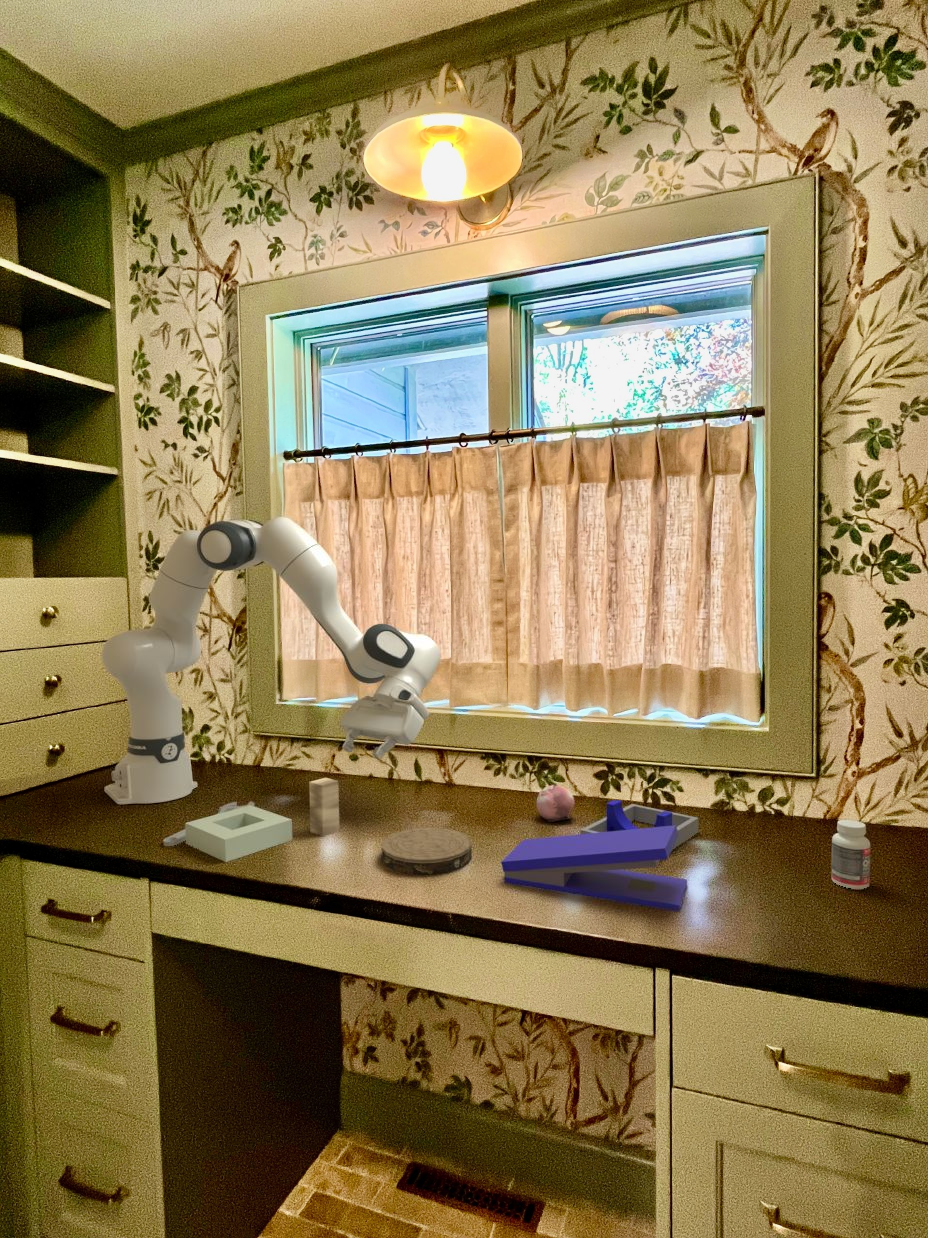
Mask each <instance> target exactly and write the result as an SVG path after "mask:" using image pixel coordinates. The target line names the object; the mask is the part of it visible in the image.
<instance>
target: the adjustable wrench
mask: <svg viewBox="0 0 928 1238" xmlns="http://www.w3.org/2000/svg"><path fill="white" fill-rule="evenodd" d="M249 805H251V806H254V807H256V806H255V802H253V801H249V802H248V803H247V804H245V805H238V801H233V802H230V803H229V802H228V803H226V804H223V805H222V806H219V809H218V810H217V811H218V812H217V813H216V814H220V813H224V812H227V811H231V810H235V809H238V808H242V807H246V806H249ZM216 814H214V815H216ZM162 840H163V842H162V843H163V847H164V846H173V847H175V846H174V845H176V846H178V845H180V844H182V843H183V841H184V842H186V841H185V840H186V833H185V828H184V829H182V830H180V831H178V832H176V833H173V834H172V835H170V836H167V837H166V838H164V839H162ZM181 842H182V843H181ZM179 843H180V844H179ZM177 844H178V845H177Z"/></svg>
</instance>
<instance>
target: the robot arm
mask: <svg viewBox="0 0 928 1238" xmlns="http://www.w3.org/2000/svg"><path fill="white" fill-rule="evenodd" d="M264 563H266V564H267V565H269V566H270V567H271V568H272V569H273V571H275V572H276V573H277V574H278V576H279V577H280V578H281V579H282V581H284V583H286V585H287V586H288V587H290V589H291V590H292V591H293V592H294V593H295V595H296V596H297V597H298V598H299V599H300V600H301V602H302V603H303V604H304V606H305V607H306V608H307V609H308V611H309V612H310V614H311V615H312V616H313V618H314V620H315V621H316V622H317V623H318V624H319V626H320V627H321V628H322V629H323V631H324V632H325V633H326V635H327V636H328V637H329V639H330V640H331V641H332V642H333V643H334V644H335V646H336V647H337V648H338V650H339V651H340V653H341V655H342V656H343V658H344V659H343V660H344V661H345V664H346V668H347V670H348V671H349V674H351V676H352V677H353V678H354V679H356V680H357V681H358V682H361V683H364V684H377V683H379V682H381V683H380V685H379V686H378V687H377V689H376V691H375V692H374V694H373V696H372V697H371V696H369V695H367V696H364V697H362V698H360V699H358V700H356V701H355V702H354V703H353V704H352V705H351V706H350V707H349V708H348V710H347V711H346V712H345V714H344V715H343V716H342V717H341V719H340V723H339V726H340V727H341V729H343V731H344V732H346V734H345V735H346V736H345V741H344V742H343V744H342V746H341V748H342V749H343V751H344V752H348V753H352V751H353V750H354V748H355V747H356V746H355V745H354V741H355V740H357V739H358V737H364V738H369V739H374V740H379V741H384V742H383V743H382V744H380V745H379V746H375V748H374V750H373V751H372V756H374V758H375V759H378V760H382V759H383V758H384V756H385V754H386V753H388V752H390V750H391V749H393V748H394V747H395V746H396V744H400V745H403V746H409V745H410V744H412V743H413V742H414V741H415V740H416V738H417V737H418V736H419V733H420V732H421V729H422V728H423V725H424V723H425V721H424V720H426V719H427V718H428V717H429V715H430V710H429V709H428V707H427V705H425V704H424V703H423V701H422V700H421V699H420V698H421V694H422V691H423V690H424V689H425V688H426V687H427V686H429V684H430V682H431V680H432V678H433V677H434V675H435V673H436V672H437V669H438V668H439V665H440V662H441V659H442V658H441V657H442V655H441V654H442V653H441V649H440V648H439V646H438V645H437V643H436V642H435V640H433V639H432V638H431V637H430V636H427V635H426V634H423V633H415V634H414V633H408V632H404V631H402V630H399V629H397V628H396V627H395V626H393V625H390V624H387V623H377V624H373V625H372V626H370V627H369V628H368V629H367V630H366V631H365V632H364V633H362V631H360V629H359V628H358V626H356V624H355V623H354V622H353V621H352V619H351V618H350V617H349V615H348V614H347V613H346V612H345V610H344V608H343V607H342V605H341V601H340V600H339V593H338V569H337V566H336V564H335V563H334V561H333V560H332V558H331V556H330V555H329V553H328V552H327V550H325V549H324V548H323V546H321V545H320V543H318V541H316V539H314V537H312V535H310V534H309V532H307V531H306V530H305V529H304V528H303V527H302V526H300V525H299V524H298V523H296V522H295V521H294V520H292V519H291V518H289V517H287V516H277V517H274V518H272V519H269V520H267V521H266V522H265V523H264V524H263V523H261V522H259V521H256V520H254V519H253V520H251V519H248V520H247V519H238V518H236V519H235V518H234V519H231V520H220V521H215V522H212V523H211V524H209V525H207V526H206V527H204V528H203V529H202V530H198V529H197V530H196V529H188V530H185V531H182V532H181V533H180V534H178V536H177V538H176V539H175V540H174V541H173V543H172V545H171V547H170V548H169V550H168V551H167V554H166V555H165V557H164V559H163V562H162V564H161V566H160V569H159V571H158V574H157V576H156V578H155V581H154V583H153V586H152V589H151V591H150V594H149V597H148V603H149V604H150V607H151V608H152V610H153V611H154V613H155V615H154V621H153V623H152V625H151V627H149V628H143V629H141V628H139V629H131V630H126V631H124V632H120V633H117V634H115V635H113V636H111V637H109V638H108V639H107V640H106V641H105V643H104V645H103V647H102V651H101V658H102V659H101V660H102V663H103V667H104V668H105V670H106V672H108V674H109V675H111V676H112V677H113V678H115V679H116V680H117V682H119V684H120V685H121V687H122V689H123V691H124V693H125V696H126V699H127V704H128V709H129V724H130V736H129V737H127V739H128V740H127V748H126V752H127V753H126V754H125V756H124V757H122V759H121V760H120V761H119V762H118V763H117V764H116V765H115V766H114V767H115V768H114V770H112V771H111V775H110V776H111V781H114V783H110V784H108V785H106V786H104V792H105V793H106V794H107V795H108V796H109V797H110V798H111V799H112V800H113V801H114V802H115V803H116V804H117V805H128V804H129V805H130V804H155V803H165V802H170V801H173V800H178V799H180V798H184V797H186V796H188V795H190V794H191V793H192V791H193V790H194V789H195V788H197V787H199V786H198V782H197V781H193V771H192V764H191V762H192V761H191V755H190V753H188V751H186V750H185V748H186V737H185V732H184V731H183V713H182V712H183V705H182V701H181V698H180V697H179V696H178V695H177V694H175V693H174V692H173V691H172V690H171V688H170V687H169V684H168V681H167V678H166V675H167V674H171V673H178V672H180V671H183V670H186V669H188V668H189V667H191V666H193V665H195V664H196V663H197V662H198V661H199V659H200V657H201V655H202V643H201V639H200V637H199V635H198V634H197V621H198V617H199V613H200V611H201V607H202V606H203V603H204V601H205V598H206V595H207V593H208V591H209V588H210V586H211V584H212V581H213V578H214V576H215V574H216V572H217V571H221V572H228V571H229V572H230V571H243V570H246V569H249V568H251V567H257V566H260V565H262V564H264Z"/></svg>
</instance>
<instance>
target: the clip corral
mask: <svg viewBox="0 0 928 1238" xmlns="http://www.w3.org/2000/svg"><path fill="white" fill-rule="evenodd" d="M622 808H623V811H624V814H625V816H626V817H627V819H628V820H629V821H630V822H631V823H633V822H634V820H635V822H640V823H643V822H644V823H643V824H647V823H649V824H648V825H652V824H653V825H652V826H654V825H655V823H656V818H657V815H658V814H660V813H662V812H664V811H665V810H663V809H658V808H653V807H650V806H649V807H648V806H644V805H640V804H639V805H638V804H635V803H631V804H629V805H626V807H622ZM666 811H667V810H666ZM667 812H669V810H668V811H667ZM671 812H672V826H673V825H676V827H677V831H678V837H677V839H676V842H675V844H674V846H673V848H672V850H671V852H673V849H674V850H675V849H676V847H677V846H678V847H680V846H681V845H682V844H681V843H683V842H684V841H686V840H687V841H689V840H690V839H692V838H693V837H695V836H696V835H697V834H696V833H698V834H699V817H697V816H691V815H687V814H681V813H677V812H673V811H671ZM632 821H633V822H632ZM600 832H607V816H604V817H603V818H601V819H599V820H597V821H595V822H593V823H591V824H590V825H586V826H585V827H583V828H581V829H580V831H579V833H580V834H590V833H600ZM695 834H696V835H695ZM694 835H695V836H694ZM692 836H693V837H692ZM691 837H692V838H691ZM689 838H690V839H689ZM688 839H689V840H688ZM687 841H686V842H687ZM684 843H685V842H684ZM684 843H683V844H684ZM680 844H681V845H680ZM679 845H680V846H679ZM678 847H677V848H678Z"/></svg>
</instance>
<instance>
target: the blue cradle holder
mask: <svg viewBox="0 0 928 1238" xmlns="http://www.w3.org/2000/svg"><path fill="white" fill-rule="evenodd" d="M622 802H623V800H618V799H614V800H611V801H609V802H607V803H606V817H607V832H610V831H621V830H631V829H641V828H639V827H637V826H635V825H634V824H633V822H630V821H629V820H628V819H627V817H626V816H625V814H624V811H623V808H624V807H623V803H622ZM672 812H673V811H668V812H667V810H664V812H662V813H660V814H658V815H657V818H656V823H655V825H653V827H663V826H672ZM645 828H648V827H645Z"/></svg>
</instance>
